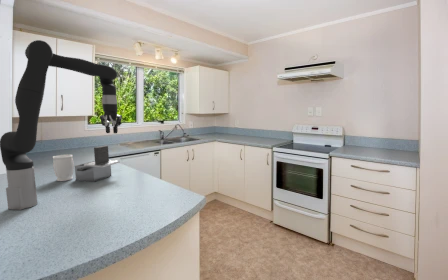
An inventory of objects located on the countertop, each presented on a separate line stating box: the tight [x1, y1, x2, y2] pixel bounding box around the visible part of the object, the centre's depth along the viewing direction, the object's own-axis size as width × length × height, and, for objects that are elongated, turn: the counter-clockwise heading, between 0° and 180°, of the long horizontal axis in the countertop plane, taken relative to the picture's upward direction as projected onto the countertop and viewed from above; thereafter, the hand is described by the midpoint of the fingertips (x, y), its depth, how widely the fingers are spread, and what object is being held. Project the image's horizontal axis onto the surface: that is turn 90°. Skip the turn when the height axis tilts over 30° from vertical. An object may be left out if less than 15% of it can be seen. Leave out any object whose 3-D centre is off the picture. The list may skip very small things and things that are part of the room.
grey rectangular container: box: [74, 160, 112, 183], centre depth 150 cm, size 20×14×9 cm
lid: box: [83, 145, 120, 167], centre depth 146 cm, size 14×14×11 cm
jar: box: [52, 153, 75, 182], centre depth 146 cm, size 11×10×15 cm
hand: (111, 133), depth 138 cm, fingers open, 4 cm apart
